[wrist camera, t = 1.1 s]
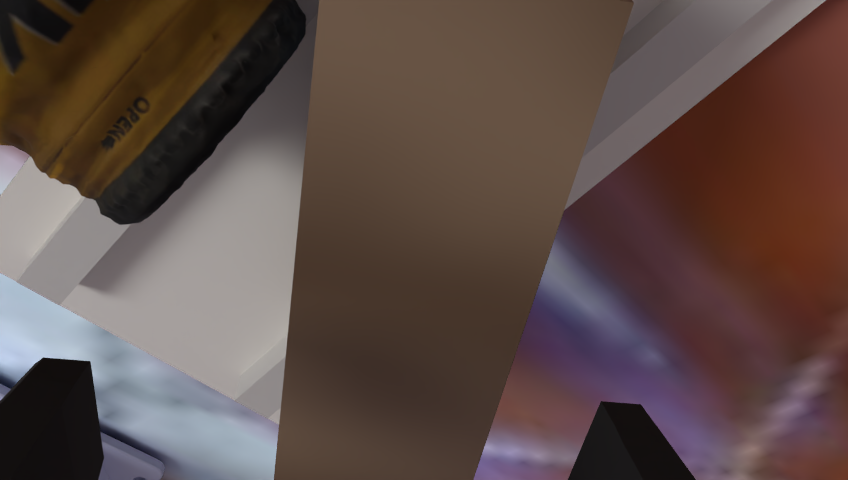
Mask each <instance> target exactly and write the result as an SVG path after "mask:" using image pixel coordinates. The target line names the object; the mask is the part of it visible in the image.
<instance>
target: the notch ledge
mask: <svg viewBox="0 0 848 480" xmlns="http://www.w3.org/2000/svg"><path fill="white" fill-rule="evenodd" d="M296 1H297V3H298V5H299V7H300V8H301V10H302V11H303V13H304V14H305V15H306V28H305V29H306V31H305V36H304V38H303V39H302V41H301V42H300V44H299V46H298V48H297V50H296V51H295V52H294V53H293V55H292V56H291V58H290V59H289V60H288V61H287V62H286V64H285V65H284V66H283V68H282V69H281V70H280V71H279V73H278V74H277V75H276V76H275V78H274V79H273V80H272V82H271V83H270V84H269V85H268V86H267V87H266V89H265V92H264V93H263V94H261V95H260V96H259V97H258V99H257V100H256V101H255V102H254V103H253V104H252V106H251V107H250V108H249V109H248V110H247V111H246V113H245V114H244V116H243V117H242V119H241V120H240V122H239V123H238V124H237V125H236V126H235V127H234V128H233V129H232V130H231V131H230V132H229V133H228V134H227V135H226V136H225V137H224V139H223V140H222V141H221V142H220V143H219V144H218V145H217V147H216V149H215V151H214V152H213V154H212V155H211V156H210V157H209V158H208V159H207V160H206V161H204V163H203V164H202V165H201V166H200V167H198V169H197V170H196V171H195V172H194V173H193V174H192V175H191V176H190V177H189V178H188V179H187V180H186V181H185V182H184V183H183V185H182V186H181V188H180V189H178V190H176V191H175V192H174V193H173V194H172V195H171V196H170V197H169V199H168V200H167V201H166V202H165V203H164V204H163V205H161V206H160V208H159V209H158V210H156V211H155V212H154V213H153V214H152V215H151V216H149V217H148V218H147V219H144V220H143V221H142V222H140V223H133V224H126V225H119V224H117V223H115V222H114V221H113V220H111V219H110V218H108V217H105V216H104V215H102V214H100V209H99V207H98V205H97V203H96V201H95V200H93V199H88V198H86V197H84V196H81V194H80V193H79V191H78V190H77V188H75V187H74V186H71V185H67V184H62V183H61V182H59V181H58V180H56V179H53V178H52V179H51V178H49V177H48V176H47V174H46V173H42V172H41V171H40V170H39V169H38V168H37V167H36V165H35V163H34V161H33V159H32V157H31V156H30V157H29V158H28V160H27V161H26V162H25V164H24V165H23V166H22V168H21V169H20V170H19V172H18V173H17V174H16V176H15V177H14V178H13V180H12V181H11V182H10V184H9V185H8V186H7V188H6V189H5V190H4V192H3V193H2V194H1V196H0V273H2V274H4V275H5V276H7V277H9V278H11V279H13V280H15V281H16V282H17V283H19V284H21V285H23V286H25V287H27V288H28V289H30V290H32V291H34V292H36V293H38V294H39V295H41V296H43V297H45V298H47V299H49V300H50V301H52V302H54V303H56V304H58V305H60V306H62V307H64V308H66V309H68V310H70V311H71V312H73V313H75V314H77V315H79V316H81V317H82V318H84V319H86V320H88V321H90V322H92V323H93V324H95V325H97V326H99V327H101V328H103V329H104V330H106V331H108V332H110V333H112V334H114V335H115V336H117V337H119V338H121V339H123V340H125V341H126V342H128V343H130V344H132V345H134V346H136V347H137V348H139V349H141V350H143V351H145V352H147V353H148V354H150V355H152V356H154V357H156V358H158V359H159V360H161V361H163V362H165V363H167V364H169V365H170V366H172V367H174V368H176V369H178V370H180V371H181V372H183V373H185V374H187V375H189V376H191V377H192V378H194V379H196V380H198V381H200V382H202V383H203V384H205V385H207V386H209V387H211V388H213V389H214V390H216V391H218V392H220V393H222V394H224V395H225V396H227V397H229V398H231V399H233V400H235V401H236V402H238V403H239V404H241V405H243V406H245V407H247V408H249V409H250V410H252V411H254V412H256V413H258V414H260V415H261V416H263V417H265V418H267V419H269V420H271V421H273V422H275V423H277V424H279V421H280V411H281V400H282V389H283V379H284V368H285V358H286V347H287V336H288V326H289V315H290V305H291V294H292V283H293V273H294V262H295V252H296V241H297V230H298V220H299V209H300V198H301V188H302V177H303V167H304V156H305V145H306V135H307V124H308V114H309V103H310V92H311V82H312V71H313V60H314V50H315V39H316V29H317V18H318V7H319V0H296ZM632 1H633V2H634V5H633V8H632V11H631V14H630V17H629V20H628V23H627V26H626V28H625V31H624V34H623V37H622V40H621V43H620V46H619V49H618V52H617V55H616V58H615V61H614V64H613V67H612V70H611V73H610V76H609V79H608V82H607V85H606V88H605V91H604V94H603V97H602V100H601V103H600V105H599V108H598V111H597V114H596V117H595V120H594V123H593V126H592V129H591V132H590V135H589V138H588V141H587V144H586V147H585V150H584V153H583V156H582V159H581V162H580V165H579V168H578V171H577V174H576V177H575V180H574V182H573V185H572V188H571V191H570V194H569V197H568V200H567V203H566V206H565V209H566V208H568V207H569V206H570V205H571V204H573V203H574V202H575V201H576V200H578V199H579V198H580V197H581V196H583V195H584V194H585V193H586V192H588V191H589V190H590V189H591V188H593V187H594V186H595V185H596V184H597V183H599V182H600V181H601V180H602V179H604V178H605V177H606V176H607V175H609V174H610V173H611V172H612V171H614V170H615V169H616V168H617V167H619V166H620V165H621V164H622V163H624V162H625V161H626V160H627V159H629V158H630V157H631V156H632V155H634V154H635V153H636V152H637V151H639V150H640V149H641V148H642V147H644V146H645V145H646V144H647V143H649V142H650V141H651V140H652V139H654V138H655V137H656V136H657V135H659V134H660V133H661V132H662V131H664V130H665V129H666V128H667V127H669V126H670V125H671V124H672V123H674V122H675V121H676V120H677V119H678V118H680V117H681V116H682V115H683V114H685V113H686V112H687V111H688V110H690V109H691V108H692V107H693V106H695V105H696V104H697V103H698V102H700V101H701V100H702V99H703V98H705V97H706V96H707V95H708V94H710V93H711V92H712V91H713V90H715V89H716V88H717V87H718V86H720V85H721V84H722V83H723V82H725V81H726V80H727V79H728V78H730V77H731V76H732V75H733V74H735V73H736V72H737V71H738V70H740V69H741V68H742V67H743V66H745V65H746V64H747V63H748V62H750V61H751V60H752V59H753V58H755V57H756V56H757V55H758V54H760V53H761V52H762V51H763V50H764V49H766V48H767V47H768V46H769V45H771V44H772V43H773V42H774V41H776V40H777V39H778V38H779V37H781V36H782V35H783V34H784V33H786V32H787V31H788V30H789V29H791V28H792V27H793V26H794V25H796V24H797V23H798V22H799V21H801V20H802V19H803V18H804V17H806V16H807V15H808V14H809V13H811V12H812V11H813V10H814V9H816V8H817V7H818V6H819V5H821V4H822V3H823V2H824V1H826V0H632ZM565 209H564V210H565Z"/></svg>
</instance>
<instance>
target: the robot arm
mask: <svg viewBox="0 0 848 480" xmlns="http://www.w3.org/2000/svg"><path fill="white" fill-rule="evenodd" d="M164 470H165V466H164V464H163V463H162V462H161V461H159V460H158V459H156V458H154V457H152V456H150V455H148V454H146V453H143V452H141V451H139V450H137V449H135V448H133V447H131V446H129V445H127V444H125V443H123V442H121V441H118V440H116V439H114V438H112V437H110V436H108V435H106V434H104V433H102V432H100V426H99V419H98V412H97V405H96V398H95V391H94V384H93V377H92V370H91V363H90V361H78V360H66V359H53V358H42V359H41V360H40V361H38V362H37V363H35V364H34V366H33V367H32V368H31V369H30V370H29V371H28V372H27V373H26V374H25V375H24V376H23V377H22V378H21V379H20V380H19V381H18V382H17V384H16V385H15V386H14V387H13V388H12V389H10V388H8V387H6V386H4V385H2V384H0V480H161V478H162V477H163V473H164ZM568 480H696V479H695V478H694V476H693V475H692V474H691V472H690V471H689V470H688V468H687V467H686V466H685V464H684V463H683V462H682V460H681V459H680V457H679V456H678V455H677V453H676V452H675V451H674V449H673V448H672V446H671V445H670V444H669V442H668V441H667V440H666V438H665V437H664V435H663V434H662V433H661V431H660V430H659V429H658V427H657V426H656V425H655V423H654V422H653V420H652V419H651V418H650V416H649V415H648V414H647V412H646V411H645V410H644V408H643V407H642V406H641V405H640V404H627V403H615V402H602V401H601V403H600V405H599V407H598V410H597V412H596V414H595V417H594V419H593V422H592V424H591V426H590V429H589V431H588V433H587V436H586V438H585V440H584V443H583V445H582V448H581V450H580V452H579V455H578V457H577V459H576V462H575V464H574V466H573V469H572V471H571V474H570V476H569V478H568Z"/></svg>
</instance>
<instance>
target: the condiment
mask: <svg viewBox="0 0 848 480" xmlns="http://www.w3.org/2000/svg"><path fill="white" fill-rule="evenodd" d="M305 28H306V15H305V14H304V13H303V11H302V10H301V8H300V7H299V5H298V3H297V1H296V0H0V145H12V146H15V147H16V148H18V149H20V150H22V151H24V152H26V153H28V154H29V155H30V156H31V157H32V159H33V161H34V163H35V165H36V167H37V168H38V169H39V170H40V171H41V172H42V173H46V174H47V176H48V177H49V178H51V179H52V178H53V179H56V180H58V181H59V182H61V183H62V184H67V185H71V186H74V187H75V188H77V190H78V191H79V193H80V194H81V196H84V197H86V198H88V199H93V200H95V201H96V203H97V205H98V207H99V209H100V214H102V215H104V216H105V217H108V218H110V219H111V220H113V221H114V222H115V223H117V224H119V225H126V224H133V223H140V222H142V221H143V220H144V219H147V218H148V217H149V216H151V215H152V214H153V213H154V212H155V211H156V210H158V209H159V208H160V206H161V205H163V204H164V203H165V202H166V201H167V200H168V199H169V197H170V196H171V195H172V194H173V193H174V192H175V191H176V190H178V189H180V188H181V186H182V185H183V183H184V182H185V181H186V180H187V179H188V178H189V177H190V176H191V175H192V174H193V173H194V172H195V171H196V170H197V169H198V167H200V166H201V165H202V164H203V163H204V161H206V160H207V159H208V158H209V157H210V156H211V155H212V154H213V152H214V151H215V149H216V147H217V145H218V144H219V143H220V142H221V141H222V140H223V139H224V137H225V136H226V135H227V134H228V133H229V132H230V131H231V130H232V129H233V128H234V127H235V126H236V125H237V124H238V123H239V122H240V120H241V119H242V117H243V116H244V114H245V113H246V111H247V110H248V109H249V108H250V107H251V106H252V104H253V103H254V102H255V101H256V100H257V99H258V97H259V96H260V95H261V94H263V93H264V92H265V89H266V87H267V86H268V85H269V84H270V83H271V82H272V80H273V79H274V78H275V76H276V75H277V74H278V73H279V71H280V70H281V69H282V68H283V66H284V65H285V64H286V62H287V61H288V60H289V59H290V58H291V56H292V55H293V53H294V52H295V51H296V50H297V48H298V46H299V44H300V42H301V41H302V39H303V38H304V36H305V31H306V29H305Z"/></svg>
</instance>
